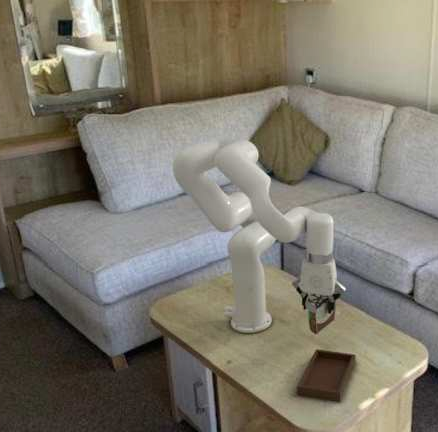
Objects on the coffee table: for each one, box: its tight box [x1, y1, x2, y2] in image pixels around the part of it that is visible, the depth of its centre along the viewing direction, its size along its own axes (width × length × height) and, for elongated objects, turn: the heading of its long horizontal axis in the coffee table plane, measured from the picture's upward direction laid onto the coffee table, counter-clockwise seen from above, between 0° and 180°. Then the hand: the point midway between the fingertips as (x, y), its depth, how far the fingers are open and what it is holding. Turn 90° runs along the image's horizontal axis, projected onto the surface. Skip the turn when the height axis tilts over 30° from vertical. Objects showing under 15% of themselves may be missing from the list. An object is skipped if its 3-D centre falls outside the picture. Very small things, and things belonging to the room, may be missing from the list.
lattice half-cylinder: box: [305, 289, 338, 335], centre depth 184 cm, size 12×6×10 cm, turn 150°
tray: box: [296, 348, 357, 403], centre depth 170 cm, size 12×18×3 cm, turn 168°
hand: (318, 309), depth 184 cm, fingers closed on lattice half-cylinder, 7 cm apart
